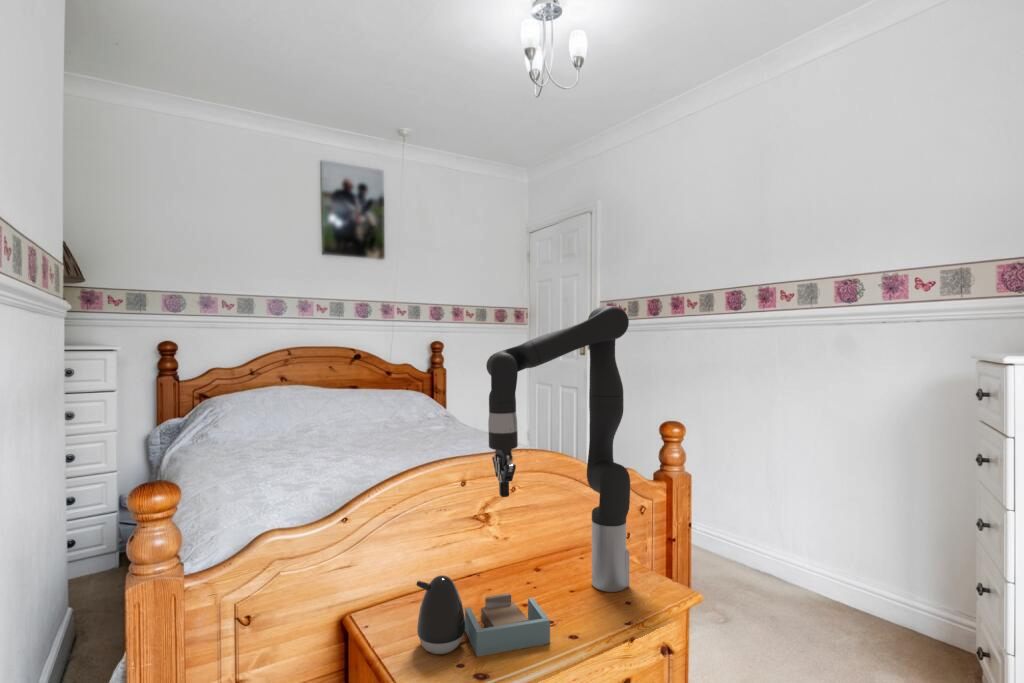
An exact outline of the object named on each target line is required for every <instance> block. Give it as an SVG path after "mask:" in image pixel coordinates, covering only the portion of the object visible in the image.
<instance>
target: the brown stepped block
mask: <svg viewBox="0 0 1024 683" xmlns="http://www.w3.org/2000/svg"><path fill="white" fill-rule="evenodd" d="M484 602H485V603H484V606H483V607H481V608H480V621H481V623H482V625H483V628H488V627H494V626H500V625H506V624H512V623H518V622H525V621H529V619H528V616H526V615H525V613H524V612H523V610H521V609H520V607H519V606H518V605H517V604H516V602H514V601H512V594H511V593H510V592H509V593H503V594H502V593H501V594H498V595H492V596H491V595H490V596H486V597H485V598H484Z"/></svg>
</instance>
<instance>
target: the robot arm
mask: <svg viewBox="0 0 1024 683" xmlns="http://www.w3.org/2000/svg"><path fill="white" fill-rule="evenodd" d="M629 324H630V321H629V316H628V314H627V312H626V311H625V310H624V309H623V308H621V307H619V306H616V305H614V306H613V305H605V306H601V307H597V308H595V309H593V310H592V311H591V313H590V314H589V315H588V318H587V319H586V320H584V321H582V322H580V323H577V324H574V325H572V326H568V327H566V328H562V329H559V330H555V331H551V332H548V333H545V334H543V335H540V336H537V337H535V338H532V339H530V340H527V341H525V342H524V343H522V344H519V345H515V346H512V347H508V348H506V349H503V350H500V351H497V352H495V353H493V354H492V355H490V356H489V357H488V359H487V361H486V371H487V373H488V374H489V375H490V377H491V378H490V381H491V382H490V384H491V385H490V388H491V390H490V392H489V395H488V420H487V421H488V425H487V426H488V448H489V449H491V450H493V451H495V452H494V453H495V454H494V455H493V456H492V457H491V460H492V462H493V467H494V473H495V476H496V478H497V481H498V484H499V486H498V487H499V488H498V489H499V490H498V492H499V496H500V497H501V498H507V497H509V496H510V482H512V481H513V479H514V476H515V472H516V467H517V465H516V464H515V463H514V464H513V462H514V457H513V454H512V450H514V449H516V448H518V446H519V444H518V443H519V442H518V440H519V439H518V436H519V435H518V434H519V433H518V419H517V418H518V417H517V399H516V398H517V397H516V391H517V383H518V374H519V372H521V371H523V370H525V369H533V368H536V367H538V366H541V365H543V364H546V363H548V362H551V361H553V360H556V359H558V358H560V357H563V356H565V355H567V354H569V353H571V352H574V351H577V350H579V349H582V348H584V347H587V346H588V347H589V348H588V350H589V392H588V393H589V394H588V396H589V397H588V398H589V400H588V404H589V405H588V406H589V442H588V443H589V445H588V455H587V464H586V480H587V484H588V486H589V487H590V488H591V490H592V491H594V492H596V493H597V494H598V493H599V501H598V502H599V503H598V506H596V507H594V508H593V509H592V510H591V585H592V586H593V587H594V588H595V589H597V590H598V591H602V592H607V593H608V592H609V593H615V592H621V591H623V590H625V589H626V588H629V587H630V550H628V549H627V516H628V514H629V511H630V501H631V478H630V474H629V471H628V469H627V468H626V467H625V466H624V465H622V464H620V463H617V462H614V461H615V460H614V440H615V437H616V433H617V431H618V429H619V427H620V424H621V422H622V419H623V415H624V407H625V406H624V386H623V382H622V377H621V375H620V371H619V369H618V365H617V359H616V340H618V339H620V338H621V337H623V336H624V334H626V332H627V331H628V328H629Z"/></svg>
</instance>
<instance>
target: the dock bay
mask: <svg viewBox="0 0 1024 683" xmlns="http://www.w3.org/2000/svg"><path fill="white" fill-rule="evenodd" d="M464 618H465V633H466V635H467V638H468V640H469V642H470V645H471V647H472V650H473V651H474V653H475V655H476V657H483V656H489V655H492V654H498V653H503V652H509V651H514V650H520V649H526V648H531V647H536V646H537V647H538V646H543V645H548V644H551V619H550V618H549V617H548V616H547V614H546V613H545V612H544V610H543V609H542V608H541V606H540V605H539V604H538V603H537V601H536V600H535V598H533V597H527V618H528V619H529V621H525V622H518V623H512V624H506V625H500V626H494V627H488V628H484V627H482V628H481V626H480V624H479V621H478V619H477V617H476V615H475V614H474V612H473V610H472V608H471V606H469V607H465V608H464Z"/></svg>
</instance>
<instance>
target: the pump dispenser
mask: <svg viewBox="0 0 1024 683" xmlns="http://www.w3.org/2000/svg"><path fill="white" fill-rule="evenodd" d="M415 585H416V586H417V587H419V588H421V589H423V590H425V592H424V594H423V597H422V600H421V604H420V607H419V612H418V617H417V618H418V620H417V629H416V630H417V631H416V632H417V633H416V634H417V636H418V637H419V641H420V643H421V646H422V648H424V649H425V650H426V651H427V652H429V653H431V654H434V655H444V654H449V653H450V652H453V651H454V650H455V649H457V647H459V645H460V644H461V642H462V639H463V636H464V634H465V633H466V631H465V610H464V607H463V602H462V599H461V596H460V594H459V590H458V589H457V587H456V584H455V583H454V581H453V579H451V577H449V576H447V575H437V576H435V577H434V578H432V579H431V581H430V583H429V582H425V581H421V580H417V581H416V583H415Z"/></svg>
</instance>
